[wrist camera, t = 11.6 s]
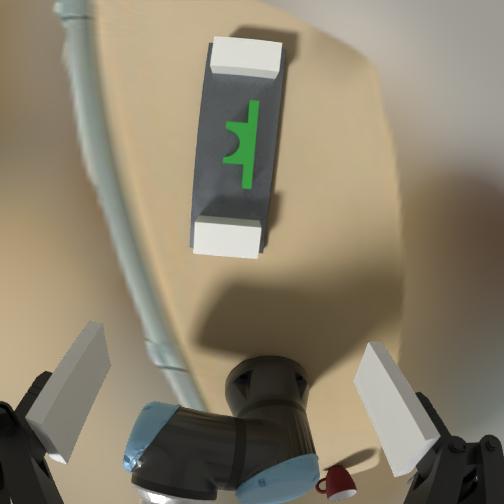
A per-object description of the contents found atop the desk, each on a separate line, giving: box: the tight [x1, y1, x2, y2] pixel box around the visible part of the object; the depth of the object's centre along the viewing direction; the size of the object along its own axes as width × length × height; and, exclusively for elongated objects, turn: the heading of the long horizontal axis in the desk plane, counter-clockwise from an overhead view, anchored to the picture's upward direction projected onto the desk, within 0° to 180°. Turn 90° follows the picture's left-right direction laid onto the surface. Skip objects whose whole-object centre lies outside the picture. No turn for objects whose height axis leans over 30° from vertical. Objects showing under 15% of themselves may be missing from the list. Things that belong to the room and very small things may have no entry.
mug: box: [315, 465, 357, 501], centre depth 60 cm, size 11×8×10 cm
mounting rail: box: [190, 37, 286, 259], centre depth 35 cm, size 28×10×5 cm, turn 174°
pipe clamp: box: [223, 100, 259, 189], centre depth 34 cm, size 10×4×4 cm, turn 175°
